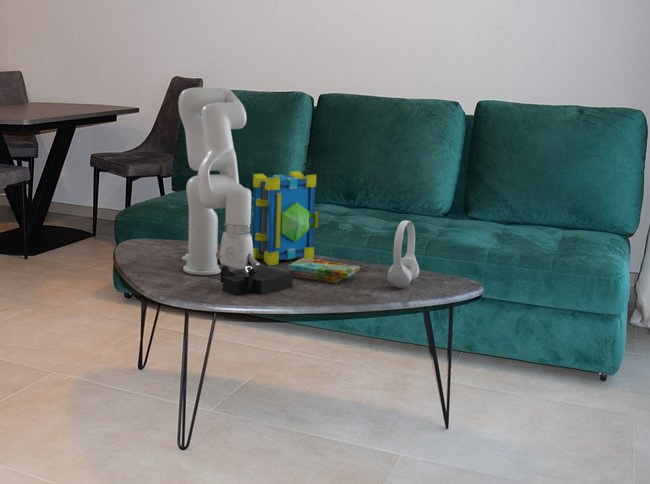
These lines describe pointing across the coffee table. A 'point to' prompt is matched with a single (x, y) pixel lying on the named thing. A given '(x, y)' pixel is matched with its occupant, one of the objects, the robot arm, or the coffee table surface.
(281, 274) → the notch pad
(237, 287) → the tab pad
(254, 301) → the coffee table surface
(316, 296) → the coffee table surface
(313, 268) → the puzzle game
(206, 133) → the robot arm
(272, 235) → the blue tall framed box
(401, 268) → the headphones
